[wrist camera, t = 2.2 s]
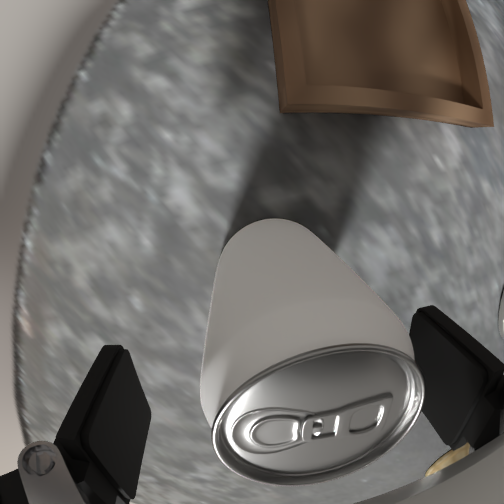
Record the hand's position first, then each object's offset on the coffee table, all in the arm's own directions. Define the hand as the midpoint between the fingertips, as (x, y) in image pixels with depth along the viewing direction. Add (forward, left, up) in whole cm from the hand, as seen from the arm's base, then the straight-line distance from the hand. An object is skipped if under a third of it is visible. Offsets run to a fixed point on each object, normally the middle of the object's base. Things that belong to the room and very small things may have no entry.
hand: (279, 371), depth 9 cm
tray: (-9, -16, -9) cm, 20 cm away
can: (-1, 0, -9) cm, 9 cm away
